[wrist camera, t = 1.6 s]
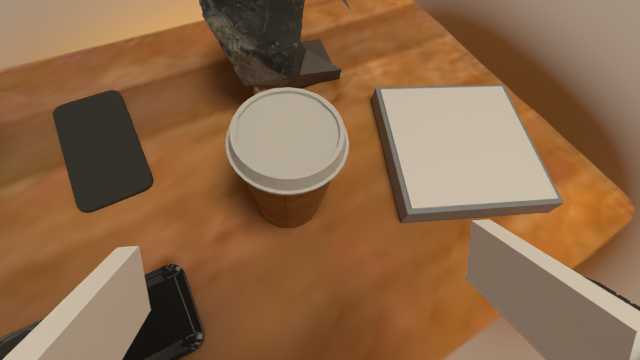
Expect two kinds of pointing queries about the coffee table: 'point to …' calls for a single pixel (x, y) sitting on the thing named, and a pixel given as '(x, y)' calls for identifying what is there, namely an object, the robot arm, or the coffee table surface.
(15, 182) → the coffee table surface
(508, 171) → the plate
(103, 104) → the phone
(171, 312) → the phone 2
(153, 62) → the coffee table surface
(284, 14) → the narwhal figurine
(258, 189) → the disposable coffee cup
